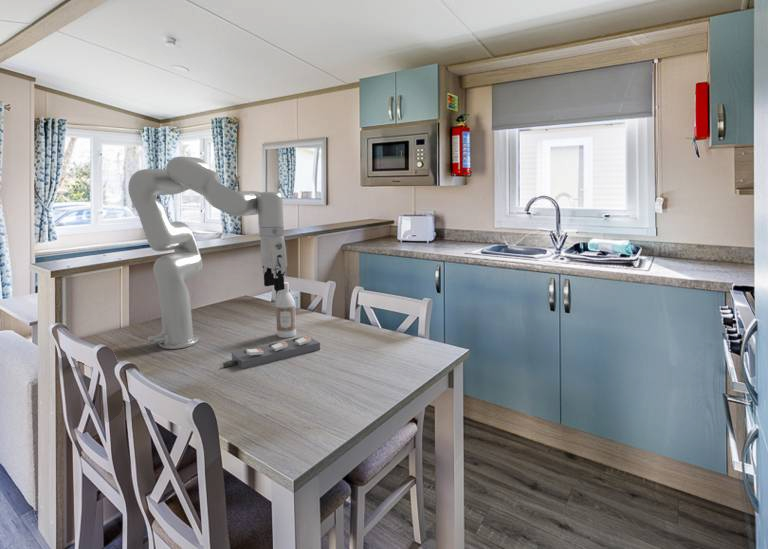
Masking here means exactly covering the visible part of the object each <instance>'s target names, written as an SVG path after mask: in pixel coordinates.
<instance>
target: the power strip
mask: <svg viewBox="0 0 768 549" xmlns="http://www.w3.org/2000/svg"><path fill="white" fill-rule="evenodd" d="M305 336H306V335H303V336H300V337H296V338H294V337H293V338H291V339H286V340H281V341H277V342H273V343H268V344H263V345H260V346H255V347H251V348H249V349H261V350H262V351H264V353H263V354H260V355H249V354H247V353H246V349H247V348H245V349H242V350H241V349H240V350H237V351H234V352H233V351H232V352H231V360H232V361H229V362H225V363H223V364H222V365H223V368H228V367H233V366H238V367H239V368H240V369H242V370H244V369H249V368H253V367H255V366H260V365H263V364H269V363H272V362H276V361H280V360H283V359H288V358H292V357H296V356H300V355H305V354H308V353H312V352H316V351H320V350H321V342H320V341H318V340H316V339H314V338H312V337H310V336H309V335H307V336H308V337H309V338H311V341H310V342H307V343H305V344H303V345H298V344H296V343H295V340H297V339H300V338H302V337H305ZM282 341H284V342H286V343H287V344H288V347H285V348H283V349H280V350H278V351H275V350H273V349H272V348H271V346H272V345H275V344H277V343H280V342H282Z"/></svg>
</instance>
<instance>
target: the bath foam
mask: <svg viewBox="0 0 768 549" xmlns="http://www.w3.org/2000/svg"><path fill="white" fill-rule="evenodd" d="M275 315H276V316H275V317H276V318H275V319H276V334H277V337H279V338H282V339H283V338H284V339H287V338H294V337H295V336H297V321H296V320H297V319H296V315H297V314H296V301H295V299H294V297H293V295H292V294H291V293H290V284H289V282H288V281H284V290H280V294H279V295H278V297H277V299H276V300H275Z"/></svg>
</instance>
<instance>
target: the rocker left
mask: <svg viewBox="0 0 768 549" xmlns="http://www.w3.org/2000/svg"><path fill="white" fill-rule="evenodd" d="M245 349H246V353H247V354H249V355H260V354H263V353H264V351H262V350H261V349H250V348H245Z"/></svg>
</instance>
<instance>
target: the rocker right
mask: <svg viewBox="0 0 768 549" xmlns="http://www.w3.org/2000/svg"><path fill="white" fill-rule="evenodd" d="M304 336H305V337H303V336H301V337H302V338H300V339H297V340H295V343H296V344H298V345H303V344H305V343H307V342H310V341H311V338H312V337H311V338H309V337H310V336H309V335H304ZM308 336H309V337H308Z"/></svg>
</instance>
